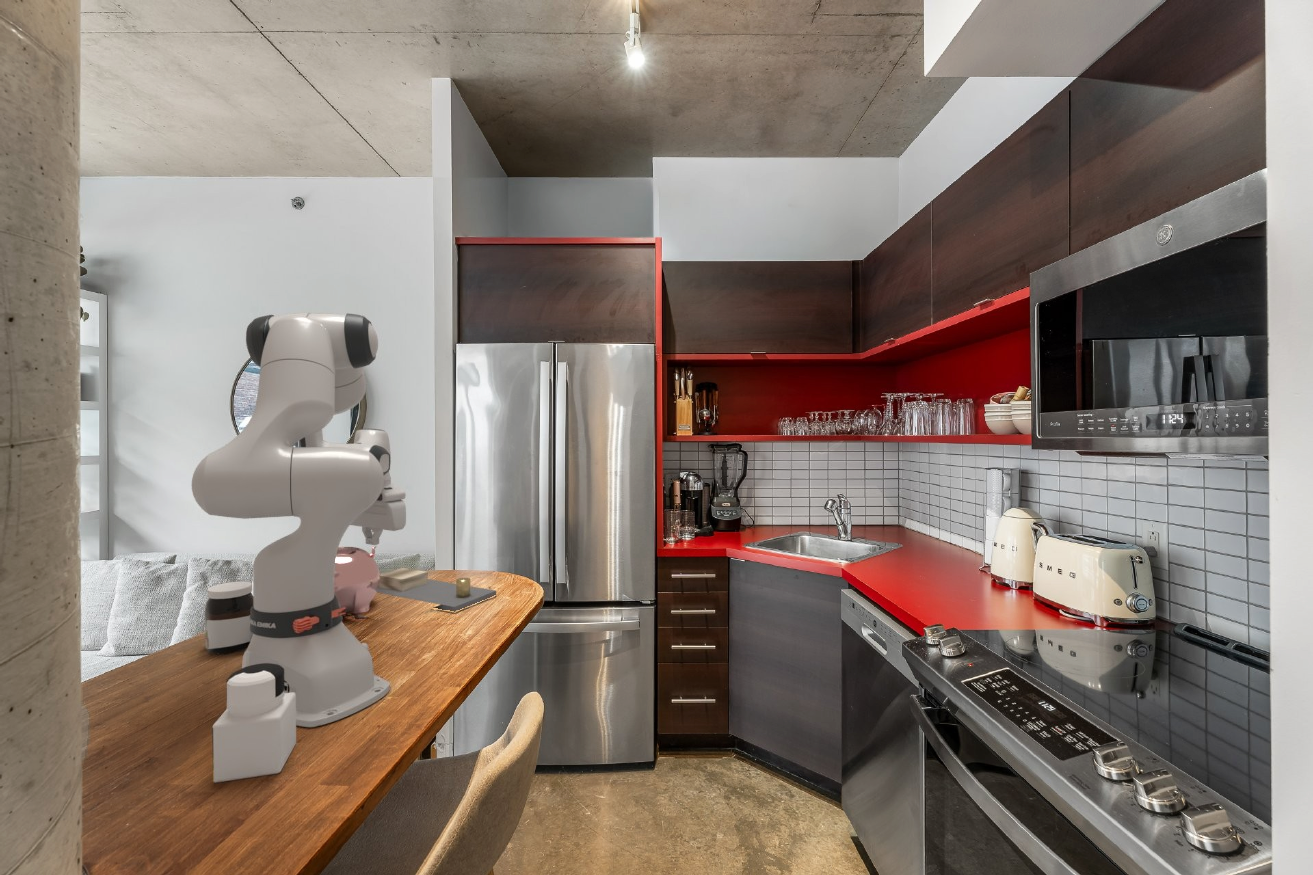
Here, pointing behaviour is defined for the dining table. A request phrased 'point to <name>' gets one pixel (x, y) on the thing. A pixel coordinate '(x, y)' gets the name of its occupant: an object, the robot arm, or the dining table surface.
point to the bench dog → (463, 587)
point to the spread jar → (228, 617)
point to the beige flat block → (403, 579)
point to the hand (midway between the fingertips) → (372, 544)
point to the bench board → (442, 595)
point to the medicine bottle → (254, 724)
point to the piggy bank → (355, 580)
